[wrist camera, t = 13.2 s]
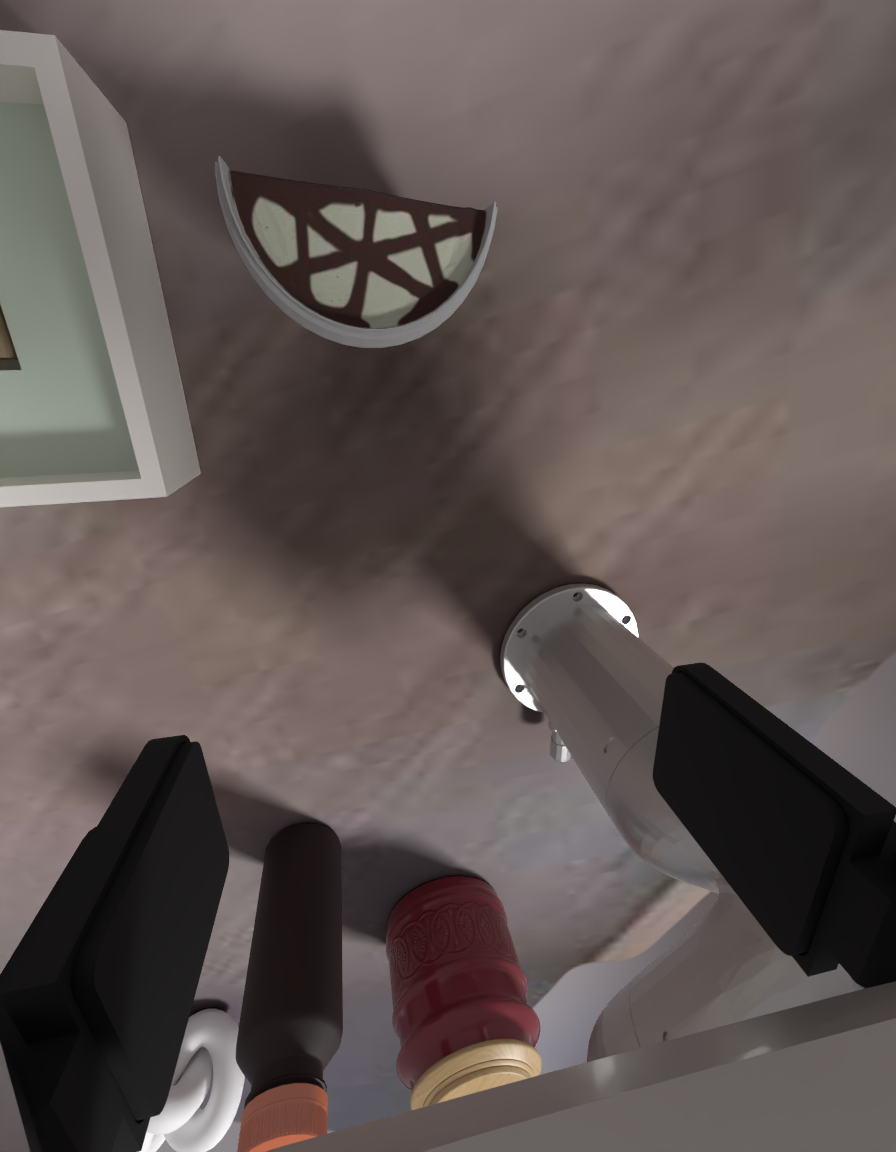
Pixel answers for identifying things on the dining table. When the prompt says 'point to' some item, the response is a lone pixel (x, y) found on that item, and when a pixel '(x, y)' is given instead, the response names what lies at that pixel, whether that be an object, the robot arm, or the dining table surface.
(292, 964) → the bottle
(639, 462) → the dining table surface
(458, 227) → the food container
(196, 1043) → the white knot sculpture
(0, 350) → the maple peg
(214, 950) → the dining table surface
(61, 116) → the open box
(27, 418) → the bore plate
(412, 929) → the canister
